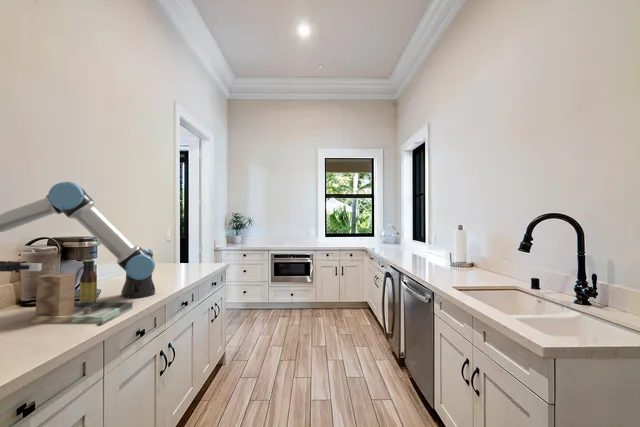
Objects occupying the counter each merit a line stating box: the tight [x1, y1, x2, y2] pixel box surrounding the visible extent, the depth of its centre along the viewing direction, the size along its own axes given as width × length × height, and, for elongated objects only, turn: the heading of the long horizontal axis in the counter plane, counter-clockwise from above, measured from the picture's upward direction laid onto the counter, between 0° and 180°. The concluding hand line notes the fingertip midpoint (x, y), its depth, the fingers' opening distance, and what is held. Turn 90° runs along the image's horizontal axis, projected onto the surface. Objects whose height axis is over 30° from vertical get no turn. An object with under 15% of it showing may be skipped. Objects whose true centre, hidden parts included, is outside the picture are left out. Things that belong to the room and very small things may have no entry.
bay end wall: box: [102, 309, 119, 321], centre depth 120 cm, size 1×10×3 cm, turn 3°
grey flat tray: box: [29, 301, 133, 326], centre depth 124 cm, size 25×21×3 cm
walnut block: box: [35, 272, 76, 316], centre depth 119 cm, size 8×8×16 cm
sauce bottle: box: [78, 259, 98, 302], centre depth 141 cm, size 7×6×20 cm
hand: (40, 267), depth 119 cm, fingers closed
